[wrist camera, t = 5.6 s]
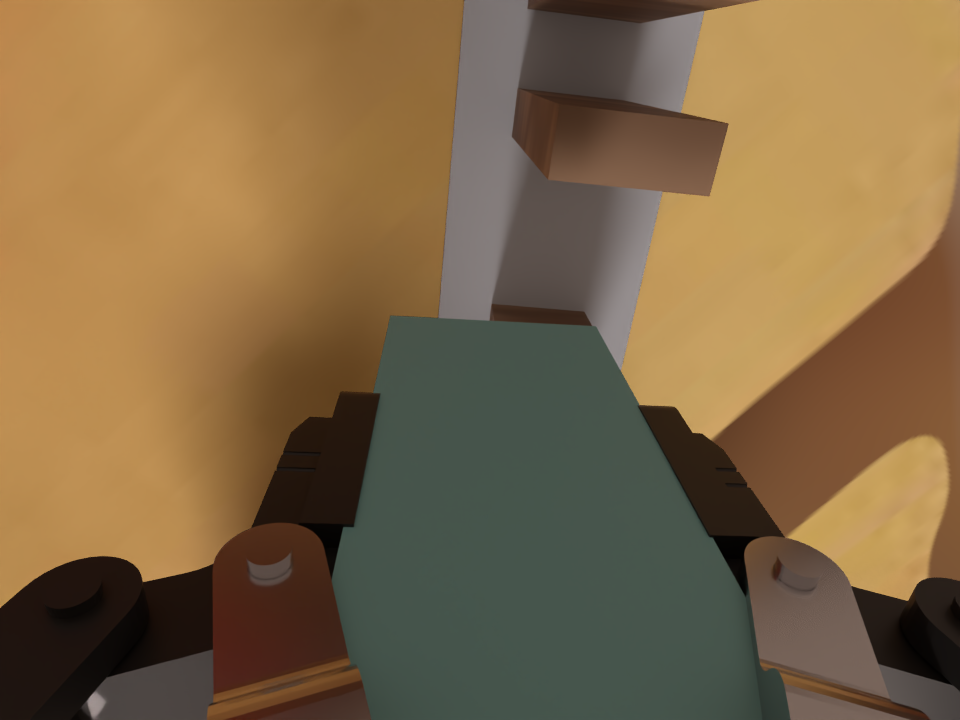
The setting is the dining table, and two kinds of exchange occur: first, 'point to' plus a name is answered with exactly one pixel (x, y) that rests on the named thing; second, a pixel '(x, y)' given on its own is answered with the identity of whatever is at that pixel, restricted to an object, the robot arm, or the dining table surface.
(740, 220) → the dining table surface
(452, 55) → the dining table surface
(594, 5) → the domino
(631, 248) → the felt mat
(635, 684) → the domino
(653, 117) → the domino
